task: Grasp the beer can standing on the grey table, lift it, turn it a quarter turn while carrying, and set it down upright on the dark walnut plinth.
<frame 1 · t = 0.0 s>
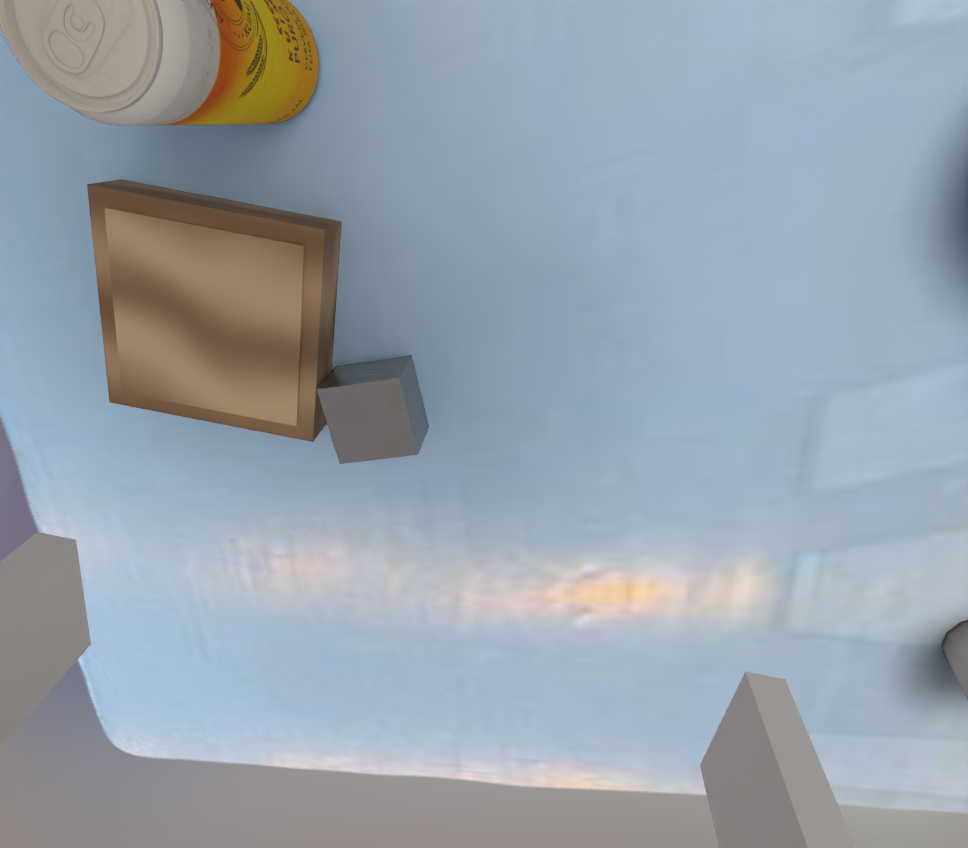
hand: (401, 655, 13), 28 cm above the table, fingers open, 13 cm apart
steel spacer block: (383, 396, 41), on the table
beer can: (268, 60, 34), on the table
plinth: (231, 308, 40), on the table
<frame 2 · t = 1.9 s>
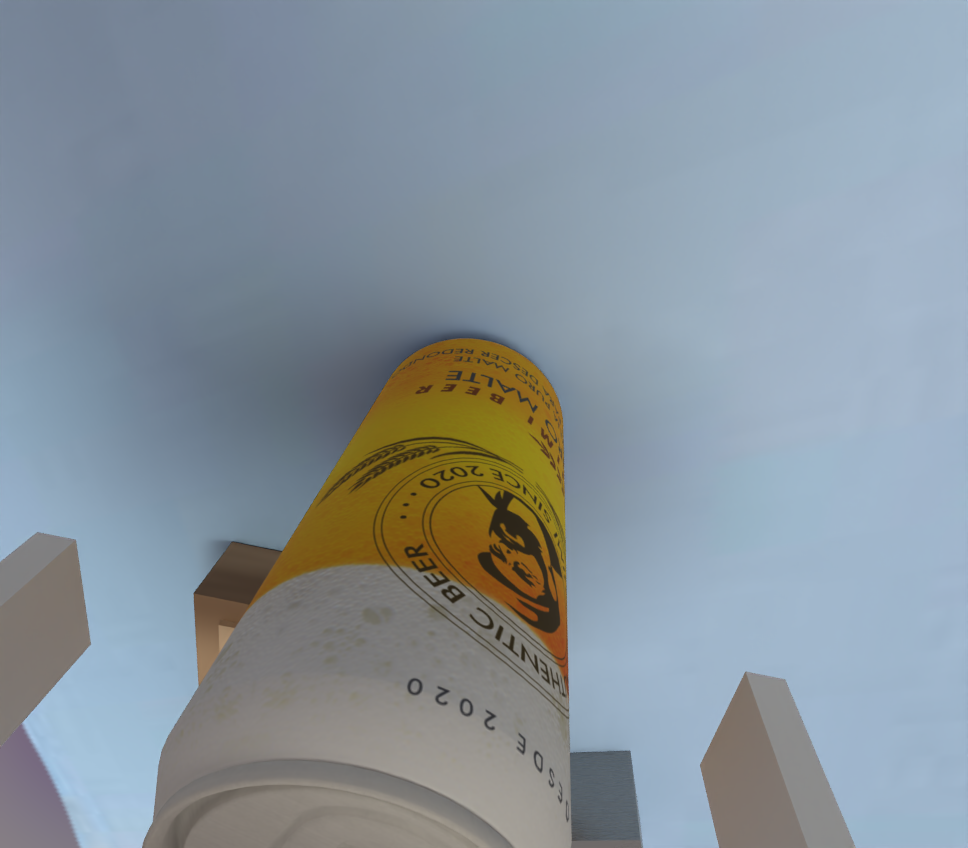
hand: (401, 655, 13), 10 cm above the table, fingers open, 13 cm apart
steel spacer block: (580, 785, 30), on the table
beer can: (473, 413, 22), on the table
plinth: (378, 687, 28), on the table
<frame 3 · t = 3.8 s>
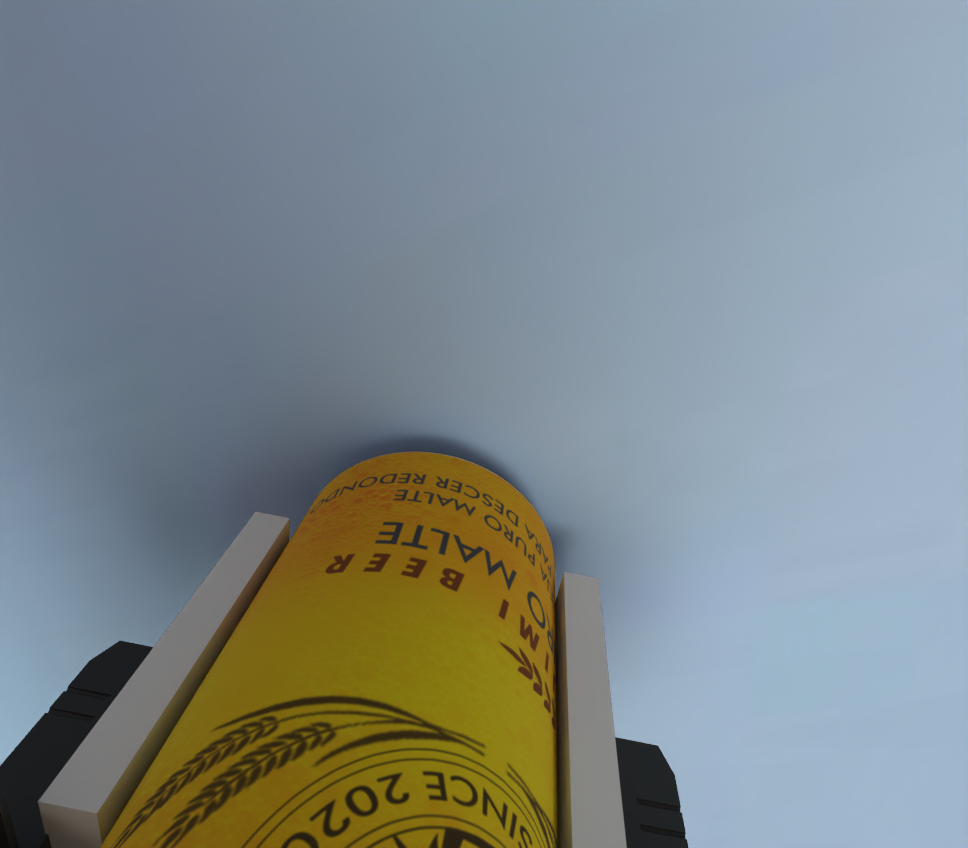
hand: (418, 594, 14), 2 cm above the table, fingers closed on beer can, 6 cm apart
beer can: (433, 538, 16), on the table, touching gripper
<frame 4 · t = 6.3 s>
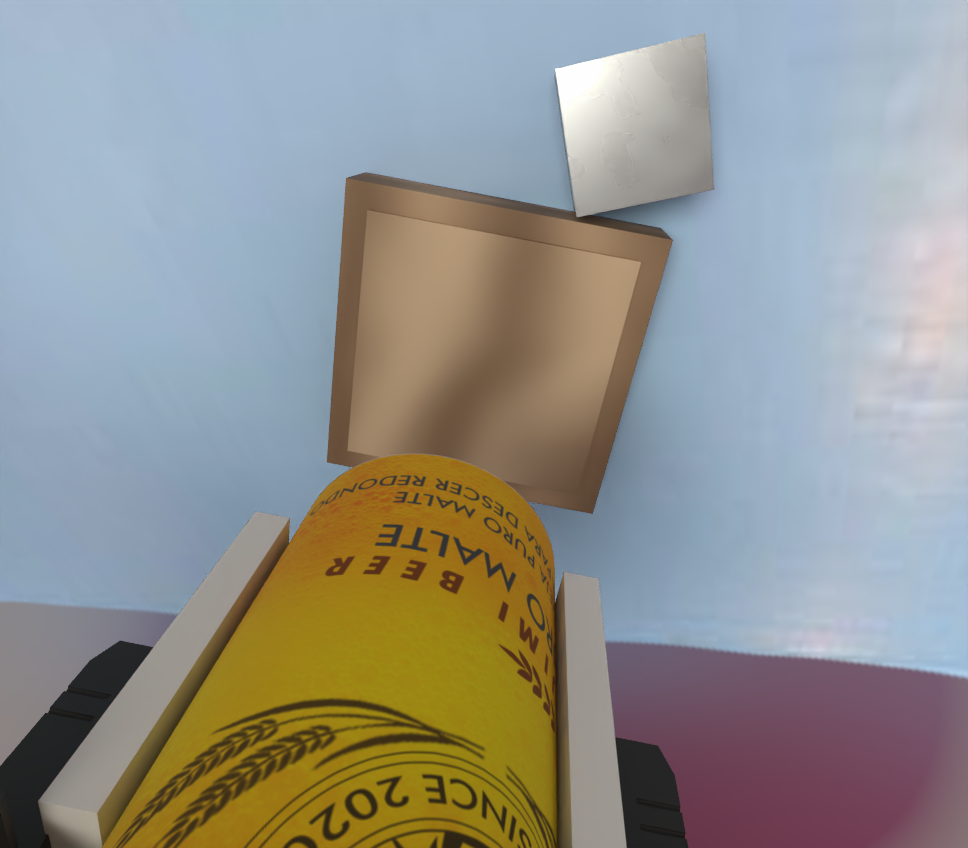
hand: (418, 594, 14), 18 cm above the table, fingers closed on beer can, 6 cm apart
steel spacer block: (624, 129, 26), on the table
beer can: (433, 539, 16), point 16 cm above the table, touching gripper
plinth: (487, 341, 30), on the table
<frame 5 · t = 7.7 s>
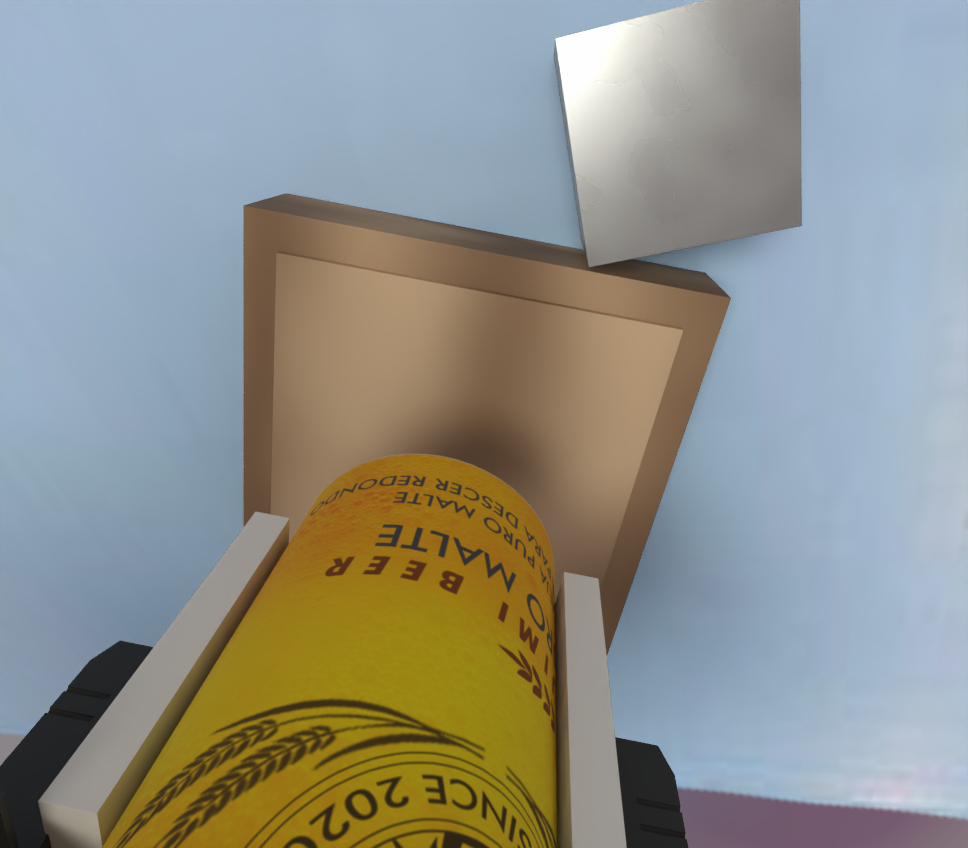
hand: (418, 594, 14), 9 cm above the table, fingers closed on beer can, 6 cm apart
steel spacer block: (656, 132, 18), on the table
beer can: (433, 540, 16), point 7 cm above the table, touching gripper
plinth: (462, 421, 22), on the table
when the fingers open (6 cm above the table, at t = 9.0 s): beer can drops 1 cm, resting on plinth.
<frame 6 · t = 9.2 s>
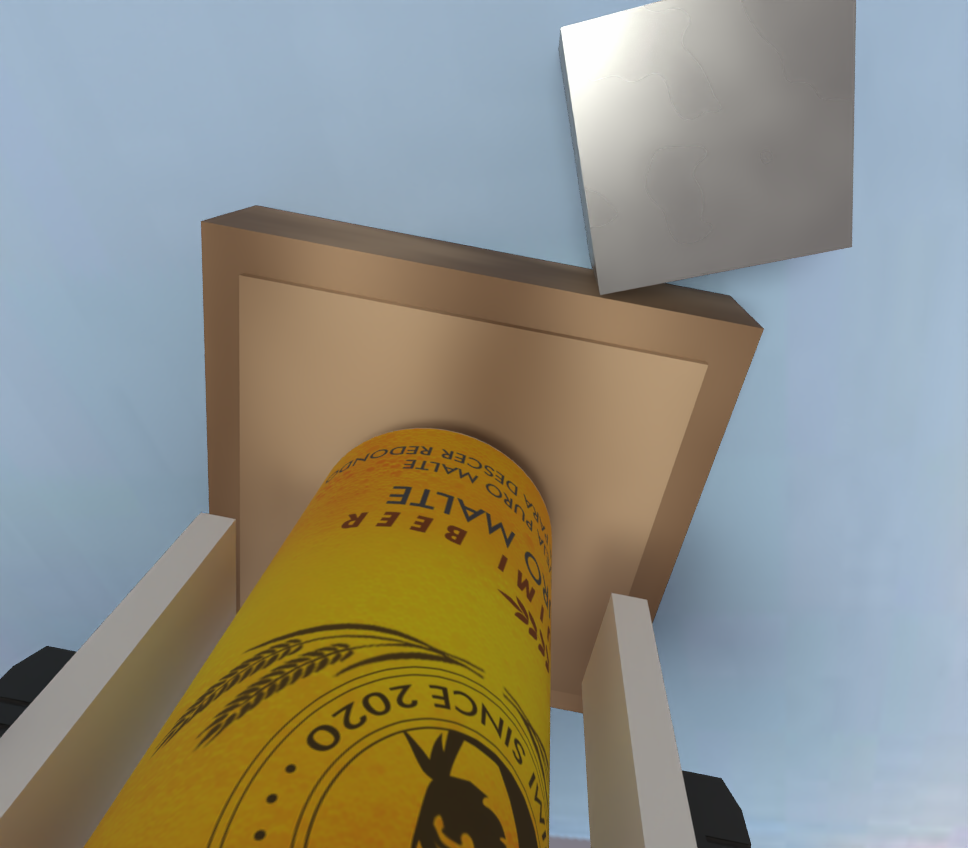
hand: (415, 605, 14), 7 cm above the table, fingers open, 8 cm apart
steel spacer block: (675, 137, 16), on the table
beer can: (439, 513, 17), point 3 cm above the table, touching plinth
plinth: (456, 457, 20), on the table
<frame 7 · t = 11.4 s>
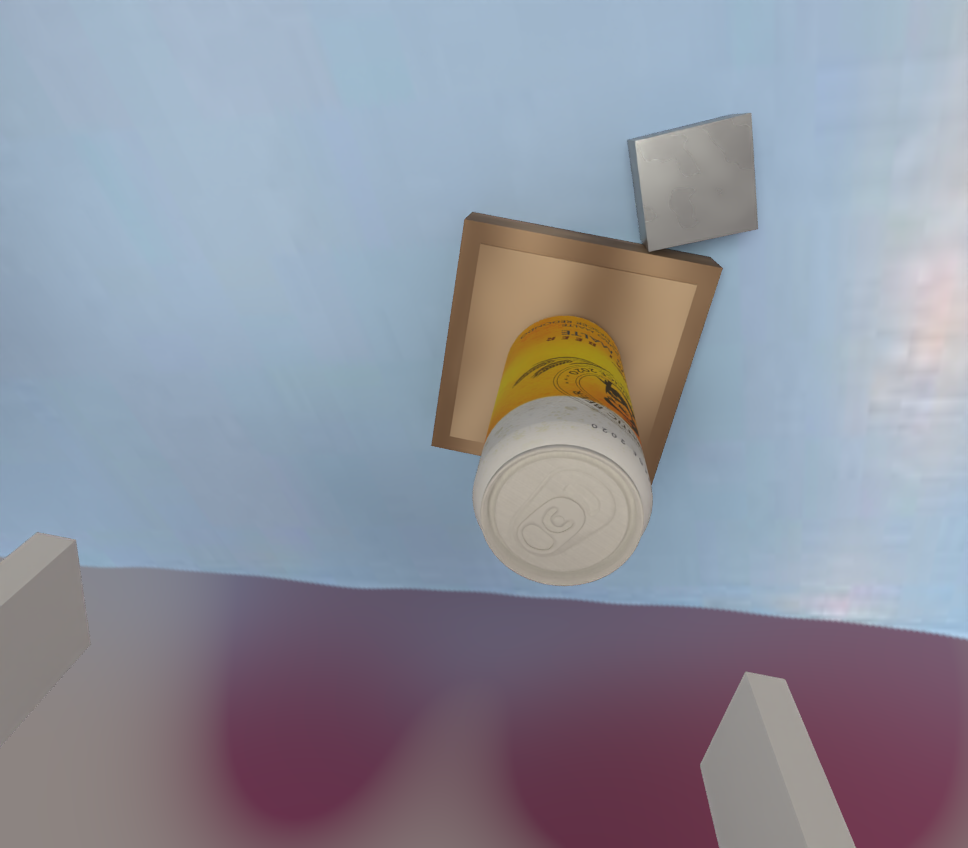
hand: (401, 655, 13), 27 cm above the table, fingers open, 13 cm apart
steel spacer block: (682, 179, 33), on the table
beer can: (563, 365, 34), point 3 cm above the table, touching plinth
plinth: (564, 347, 37), on the table
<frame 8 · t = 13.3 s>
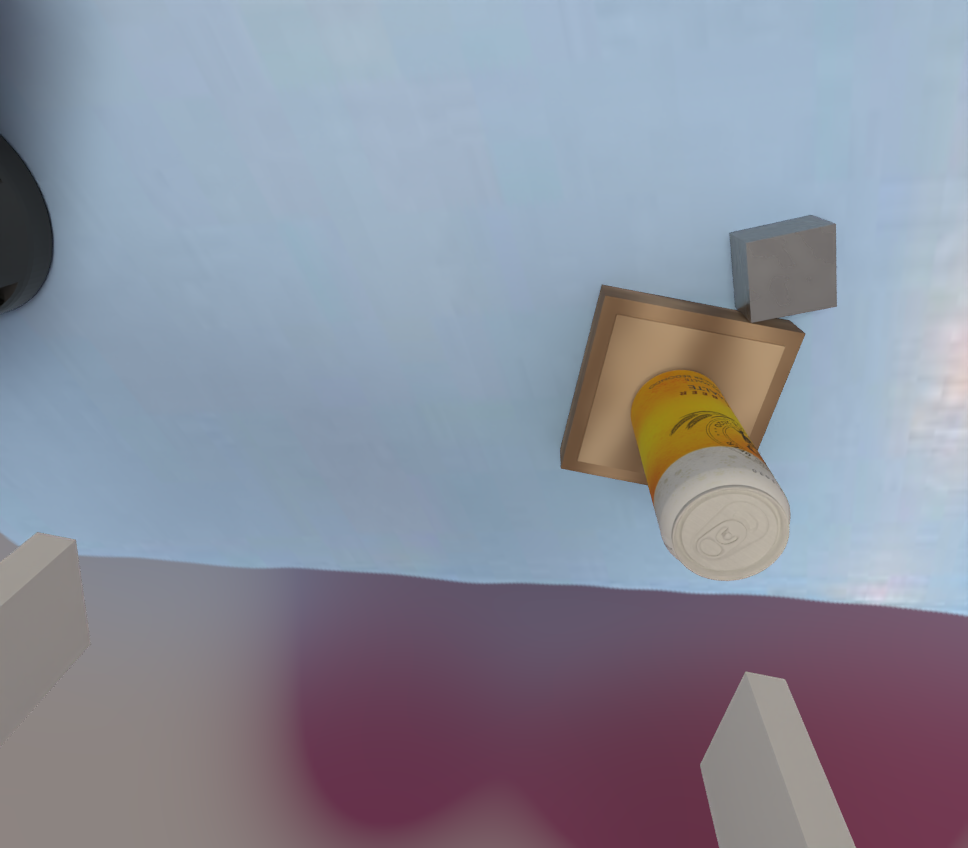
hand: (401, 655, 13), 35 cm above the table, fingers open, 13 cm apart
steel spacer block: (771, 261, 42), on the table
beer can: (674, 406, 44), point 3 cm above the table, touching plinth
plinth: (667, 388, 46), on the table
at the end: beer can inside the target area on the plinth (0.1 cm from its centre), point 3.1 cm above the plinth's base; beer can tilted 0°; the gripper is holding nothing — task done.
